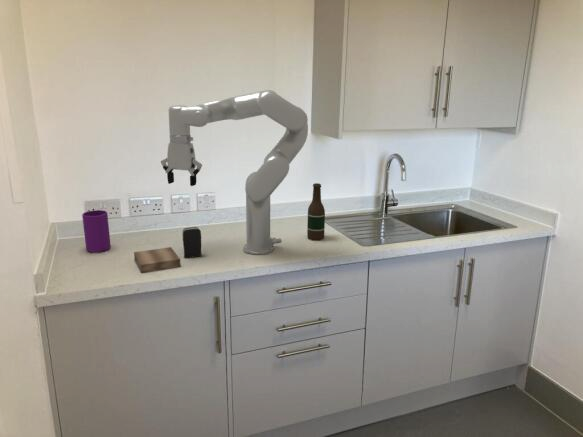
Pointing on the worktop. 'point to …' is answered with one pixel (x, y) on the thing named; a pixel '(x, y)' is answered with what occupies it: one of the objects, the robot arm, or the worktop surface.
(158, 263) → the plinth
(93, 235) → the mug
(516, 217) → the worktop surface
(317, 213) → the beer bottle
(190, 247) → the battery charger
